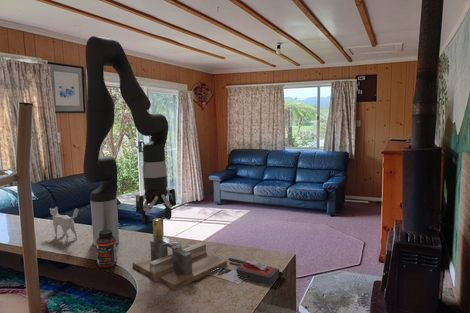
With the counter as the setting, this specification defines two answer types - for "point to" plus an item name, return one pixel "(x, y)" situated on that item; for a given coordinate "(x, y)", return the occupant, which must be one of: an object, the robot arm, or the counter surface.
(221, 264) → the lock base
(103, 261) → the supplement bottle
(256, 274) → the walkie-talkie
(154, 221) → the swing bar
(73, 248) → the counter surface
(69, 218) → the cat figurine
